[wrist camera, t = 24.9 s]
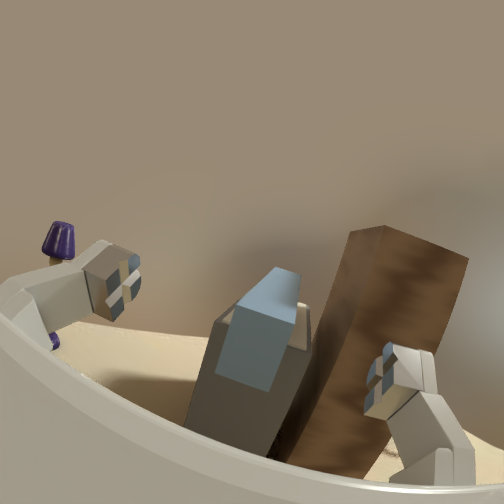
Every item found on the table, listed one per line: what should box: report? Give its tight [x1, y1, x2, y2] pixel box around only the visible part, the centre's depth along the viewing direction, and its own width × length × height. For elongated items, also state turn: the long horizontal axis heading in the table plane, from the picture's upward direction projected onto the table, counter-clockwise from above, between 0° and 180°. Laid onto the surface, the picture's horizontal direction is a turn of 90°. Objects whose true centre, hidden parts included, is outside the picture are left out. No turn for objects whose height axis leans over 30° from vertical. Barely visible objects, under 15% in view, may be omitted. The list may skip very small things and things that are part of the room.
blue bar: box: [215, 267, 301, 392], centre depth 25 cm, size 3×20×4 cm, turn 170°
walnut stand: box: [277, 225, 469, 479], centre depth 31 cm, size 8×18×26 cm, turn 170°
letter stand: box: [184, 288, 312, 457], centre depth 33 cm, size 8×18×15 cm, turn 170°
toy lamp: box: [42, 221, 75, 350], centre depth 34 cm, size 5×5×17 cm
